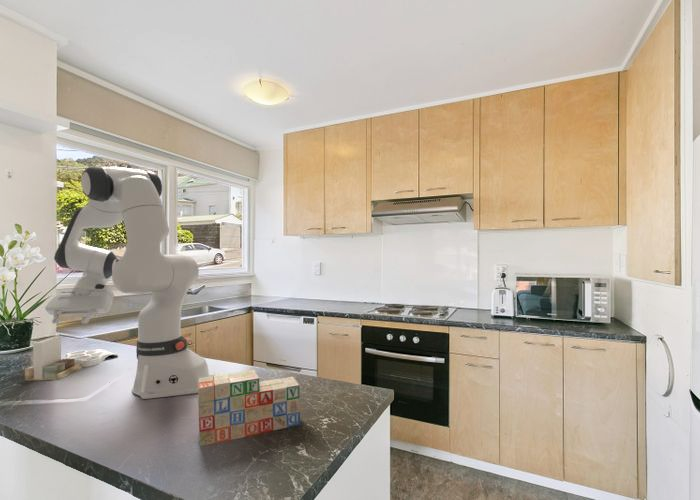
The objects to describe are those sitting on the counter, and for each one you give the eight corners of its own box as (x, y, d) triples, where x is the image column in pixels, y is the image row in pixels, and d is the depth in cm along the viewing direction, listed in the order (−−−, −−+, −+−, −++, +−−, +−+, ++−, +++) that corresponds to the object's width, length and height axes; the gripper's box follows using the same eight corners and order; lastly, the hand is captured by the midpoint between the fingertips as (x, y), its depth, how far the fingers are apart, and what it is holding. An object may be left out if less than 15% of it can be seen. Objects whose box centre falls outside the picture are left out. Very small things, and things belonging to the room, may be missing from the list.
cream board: (53, 370, 116) (52, 336, 116) (61, 369, 116) (60, 336, 116) (33, 379, 108) (33, 343, 108) (42, 378, 108) (42, 343, 108)
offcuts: (63, 369, 117) (63, 359, 117) (74, 369, 117) (74, 358, 117) (43, 378, 108) (43, 367, 108) (55, 378, 109) (55, 367, 109)
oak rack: (49, 372, 117) (49, 358, 117) (81, 371, 118) (81, 357, 118) (24, 383, 107) (24, 369, 107) (60, 382, 108) (59, 367, 108)
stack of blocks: (293, 414, 86) (293, 363, 86) (300, 425, 80) (300, 371, 80) (198, 432, 78) (198, 377, 78) (198, 447, 72) (197, 387, 72)
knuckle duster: (122, 362, 128) (73, 374, 116) (101, 354, 138) (54, 364, 126) (122, 353, 128) (73, 364, 116) (100, 346, 138) (54, 355, 126)
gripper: (53, 286, 129) (32, 318, 119) (112, 285, 131) (96, 316, 121) (62, 297, 133) (42, 328, 123) (119, 295, 135) (104, 326, 125)
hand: (69, 322), depth 122 cm, fingers open, 8 cm apart
